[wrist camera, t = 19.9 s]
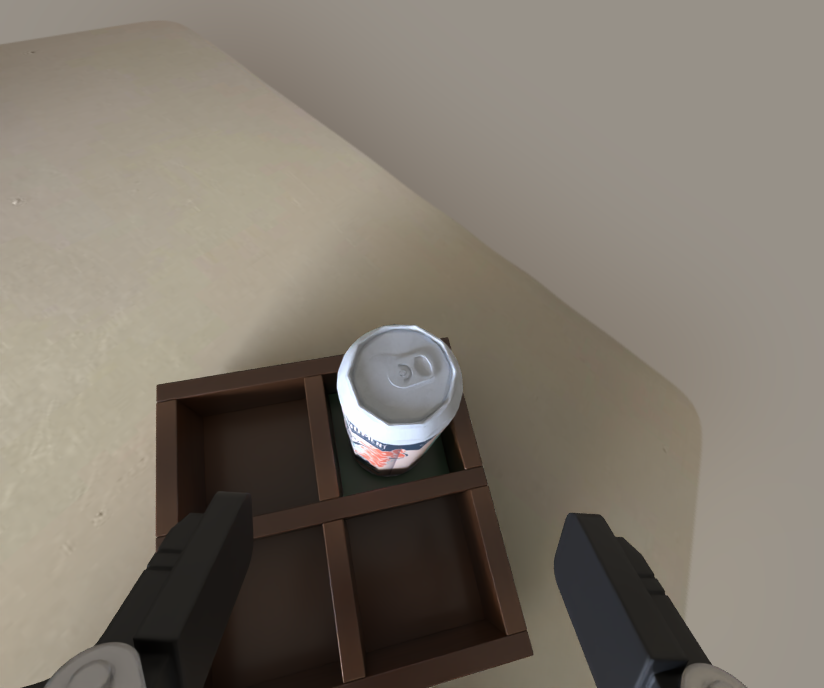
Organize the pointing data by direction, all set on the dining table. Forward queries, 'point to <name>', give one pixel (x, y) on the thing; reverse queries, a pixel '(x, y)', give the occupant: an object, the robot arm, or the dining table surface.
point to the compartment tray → (339, 538)
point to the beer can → (397, 396)
